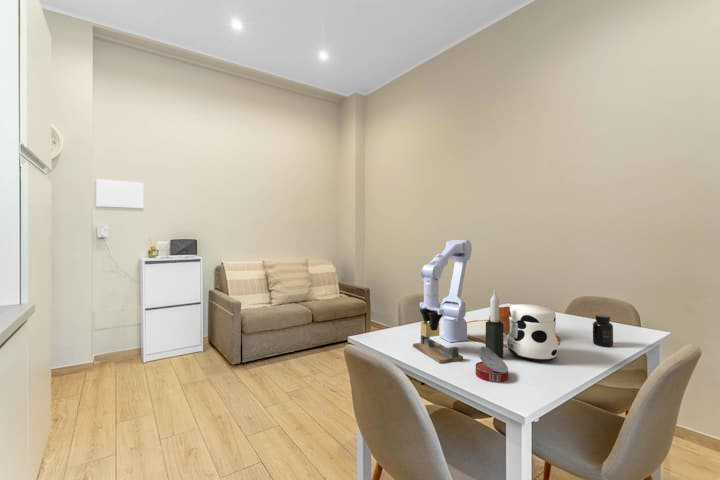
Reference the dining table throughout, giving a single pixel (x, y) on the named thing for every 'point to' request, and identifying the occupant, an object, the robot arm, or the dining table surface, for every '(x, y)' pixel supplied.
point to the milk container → (532, 332)
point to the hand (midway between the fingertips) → (431, 328)
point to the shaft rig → (438, 351)
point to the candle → (494, 328)
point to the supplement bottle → (603, 331)
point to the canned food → (491, 367)
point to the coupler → (428, 329)
